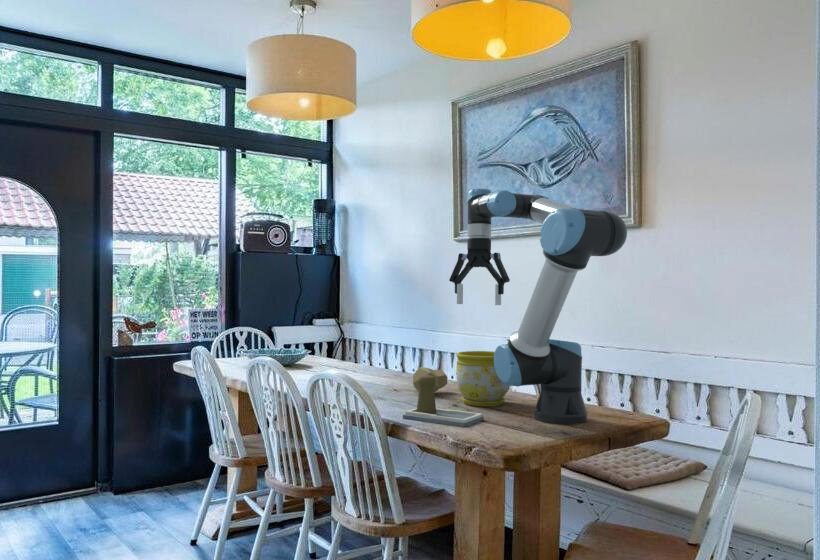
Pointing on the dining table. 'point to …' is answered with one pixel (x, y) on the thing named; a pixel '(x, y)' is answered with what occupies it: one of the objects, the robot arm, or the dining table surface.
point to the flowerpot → (479, 379)
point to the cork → (426, 395)
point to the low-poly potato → (437, 374)
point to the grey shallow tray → (446, 417)
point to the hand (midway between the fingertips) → (478, 304)
